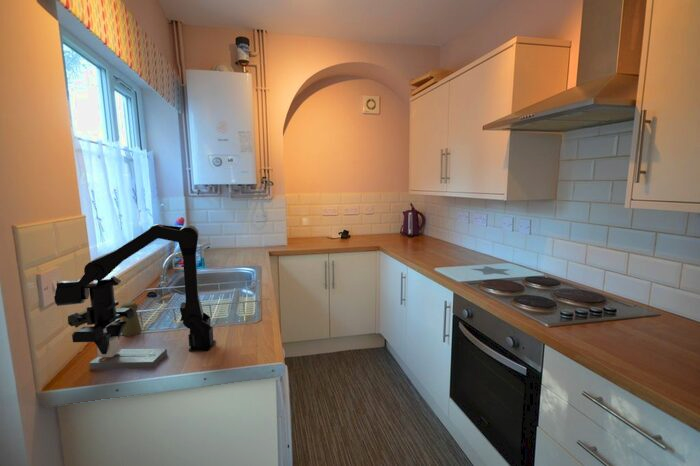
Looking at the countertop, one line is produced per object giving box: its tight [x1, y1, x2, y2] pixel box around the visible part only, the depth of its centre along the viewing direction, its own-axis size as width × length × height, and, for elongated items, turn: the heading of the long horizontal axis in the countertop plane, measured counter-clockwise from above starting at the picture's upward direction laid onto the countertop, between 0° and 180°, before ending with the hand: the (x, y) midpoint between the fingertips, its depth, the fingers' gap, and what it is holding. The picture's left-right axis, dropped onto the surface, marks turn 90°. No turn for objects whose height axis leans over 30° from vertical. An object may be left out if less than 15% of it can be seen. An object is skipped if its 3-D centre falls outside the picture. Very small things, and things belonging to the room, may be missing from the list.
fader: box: [96, 336, 120, 357], centre depth 103 cm, size 4×4×5 cm
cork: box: [120, 301, 142, 337], centre depth 124 cm, size 6×6×11 cm
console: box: [88, 348, 168, 370], centre depth 104 cm, size 18×8×2 cm, turn 91°
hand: (108, 350), depth 104 cm, fingers closed on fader, 3 cm apart
